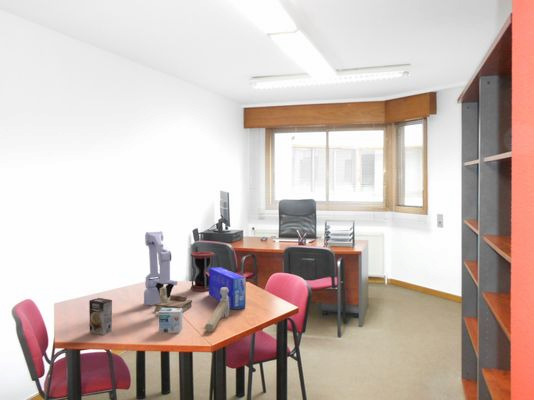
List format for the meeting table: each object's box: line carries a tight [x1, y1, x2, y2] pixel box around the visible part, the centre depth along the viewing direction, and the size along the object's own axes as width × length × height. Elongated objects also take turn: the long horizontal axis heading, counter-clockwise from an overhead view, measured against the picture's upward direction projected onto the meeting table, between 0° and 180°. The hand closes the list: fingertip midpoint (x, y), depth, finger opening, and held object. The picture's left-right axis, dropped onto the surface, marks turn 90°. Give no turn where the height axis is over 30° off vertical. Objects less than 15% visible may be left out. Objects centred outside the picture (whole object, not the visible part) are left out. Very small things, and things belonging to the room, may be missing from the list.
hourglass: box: [190, 251, 215, 292], centre depth 306 cm, size 16×16×25 cm
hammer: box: [204, 287, 231, 333], centre depth 232 cm, size 16×5×30 cm
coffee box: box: [88, 297, 113, 336], centre depth 218 cm, size 9×6×16 cm
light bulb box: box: [158, 308, 183, 334], centre depth 220 cm, size 11×7×11 cm, turn 90°
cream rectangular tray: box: [154, 301, 193, 317], centre depth 254 cm, size 16×21×3 cm
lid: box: [154, 294, 193, 308], centre depth 257 cm, size 17×14×4 cm
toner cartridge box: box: [208, 266, 247, 310], centre depth 275 cm, size 39×8×18 cm, turn 29°
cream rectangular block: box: [160, 286, 170, 303], centre depth 248 cm, size 4×4×8 cm
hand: (164, 296), depth 248 cm, fingers closed on cream rectangular block, 4 cm apart
